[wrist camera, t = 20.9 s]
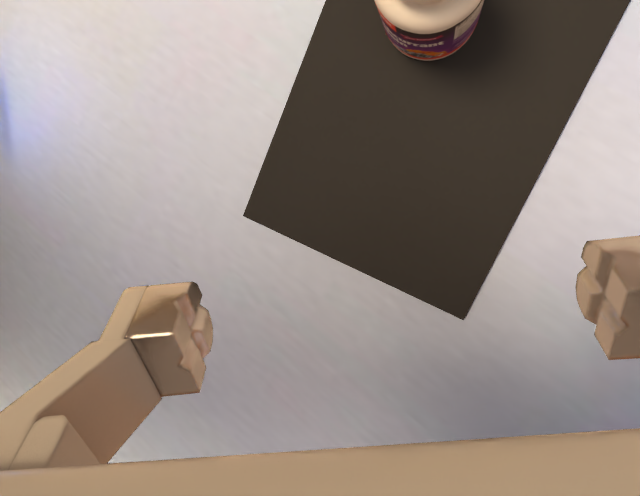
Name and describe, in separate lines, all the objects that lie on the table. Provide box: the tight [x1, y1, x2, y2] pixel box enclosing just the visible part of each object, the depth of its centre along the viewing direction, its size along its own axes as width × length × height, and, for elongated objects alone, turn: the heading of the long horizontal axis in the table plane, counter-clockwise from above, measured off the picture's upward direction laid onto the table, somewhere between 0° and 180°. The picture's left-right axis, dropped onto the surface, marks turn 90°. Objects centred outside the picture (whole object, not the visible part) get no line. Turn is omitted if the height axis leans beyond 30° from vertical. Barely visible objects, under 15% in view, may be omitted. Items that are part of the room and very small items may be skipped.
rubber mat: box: [243, 0, 630, 320], centre depth 30 cm, size 20×16×1 cm
